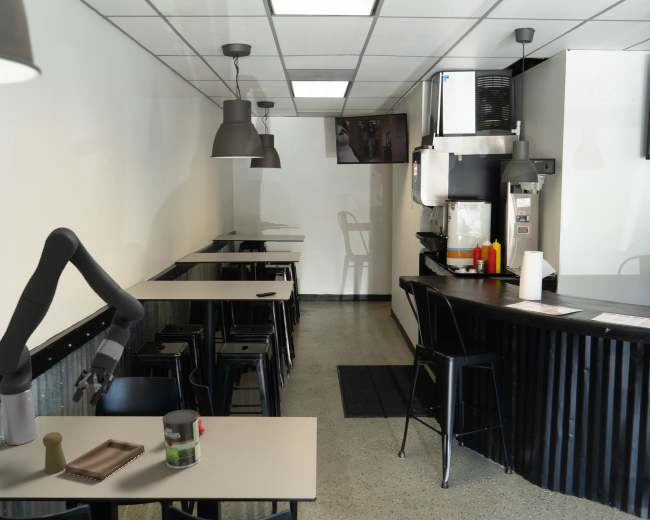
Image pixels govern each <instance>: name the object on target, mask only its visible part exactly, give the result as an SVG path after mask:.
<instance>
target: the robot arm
mask: <svg viewBox="0 0 650 520" xmlns="http://www.w3.org/2000/svg"><path fill="white" fill-rule="evenodd" d="M40 254H41V255H40V258H39V260H38V264H37V266H36V267H35V271H34V272H33V274H32V275H31V276H30V278H29V279H28V281H27V282H26V285H25V286H24V289H23V290H22V293H21V294H20V297H19V298H18V301H17V303H16V305H15V308H14V310H13V313H12V315H11V318H10V320H9V323H8V325H7V327H6V329H5V332H4V334H3V336H2V337H1V339H0V375H2V378H1V381H0V404H1V405H0V406H1V412H2V413H1V415H0V416H1V424H2V432H3V438H4V442H6V444H7V445H11V446H18V445H23V444H27V443H30V442H32V441H33V440H35V439H36V438H38V432H37V423H36V416H35V415H36V414H35V406H34V400H33V399H34V398H33V391H32V385H31V384H32V383H31V382H32V378H33V368H32V357H31V352H30V350H29V347H28V346H27V345H26V344H27V342H28V341H29V339H30V337H31V336H32V335H33V333H34V332H35V331H36V329H37V328H38V327H39V326H40V324H42V322H43V320H44V318H45V317H46V316H47V313H48V312H49V309H50V307H51V305H52V303H53V301H54V298H55V295H56V292H57V289H58V288H57V287H58V284H59V281H60V277H61V276H62V274H63V272H64V270H65V268H66V266H67V265H68V263H71V264H72V265H73V266H74V267H75V268H76V269H77V270H78V271H79V273H80V274H81V276H82V277H83V279H84V280H85V281H86V283H87V285H88V286H89V287H90V289H91V290H92V291H93V292H94V293H95V294H96V295H97V296H98V297H99V298H100V299H101V300H102V301H103V302H104V303H105V304H106V305H108V306H113V307H114V308H116V310H115V312H114V314H113V317H112V320H111V323H110V327H109V329H108V330H107V333H106V334H105V337H103V338H104V339H103V340H102V342H100V344H99V346H98V348H97V350H96V352H95V354H94V355H93V358H92V359H91V361H90V363H89V366H90V369H89V371H88V370H86V369H85V368H83V370H81V372H80V374H79V376H78V378H77V379H76V381H75V382H74V385H73V386H74V387H75V388H76V389H75V390H76V391H75V392H74V394H73V397H72V399H71V401H72V402H75V403H79V402H80V400H81V399H82V396H83V394H84V392H85V391H86V390H87V389H89V388H91V387H94V392H93V393H92V395H91V398H90V399H89V401H88V405H90V406H91V407H95V406H96V405H97V404H98V401H99V400H100V398H101V396H103V395H104V394H105V395H107V394H108V393H109V391H110V389H111V387H112V384H113V382H114V380H115V376H114V375H113V372H114V370H115V368H116V366H117V364H118V362H119V361H120V359H121V357H122V354H123V351H124V349H125V347H126V344H127V342H129V338H130V336H131V332H130V329H131V326H132V324H133V323H137V322H139V321H141V320H142V319H143V318H144V316H145V309H144V306H143V305H142V303H141V302H140V301H139V299H137V298H136V297H134V296H133V295H132V294H130V293H129V292H127V291H125V290H124V289H123V288H122V287H121V285H119V283H117V282H116V281H115V280H114V279H113V277H111V276H110V274H108V273H107V271H106V270H105V269H103V268H102V266H101V265H100V264H99V263H98V262H97V261H96V260H95V259H94V257H93V256H92V255H91V254H90V252H89V251H88V249H87V248H86V247H85V246H84V244H83V242H82V241H81V240H80V238H79V237H78V235H77V234H76V233H75V232H74V231H73V230H72V229H70V228H67V227H63V226H62V227H58V228H57V227H56V228H55V229H54V230H52V231H50V232H49V234H48V236H47V237H46V239H45V241H44V245H43V249H42V251H41V253H40Z"/></svg>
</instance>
